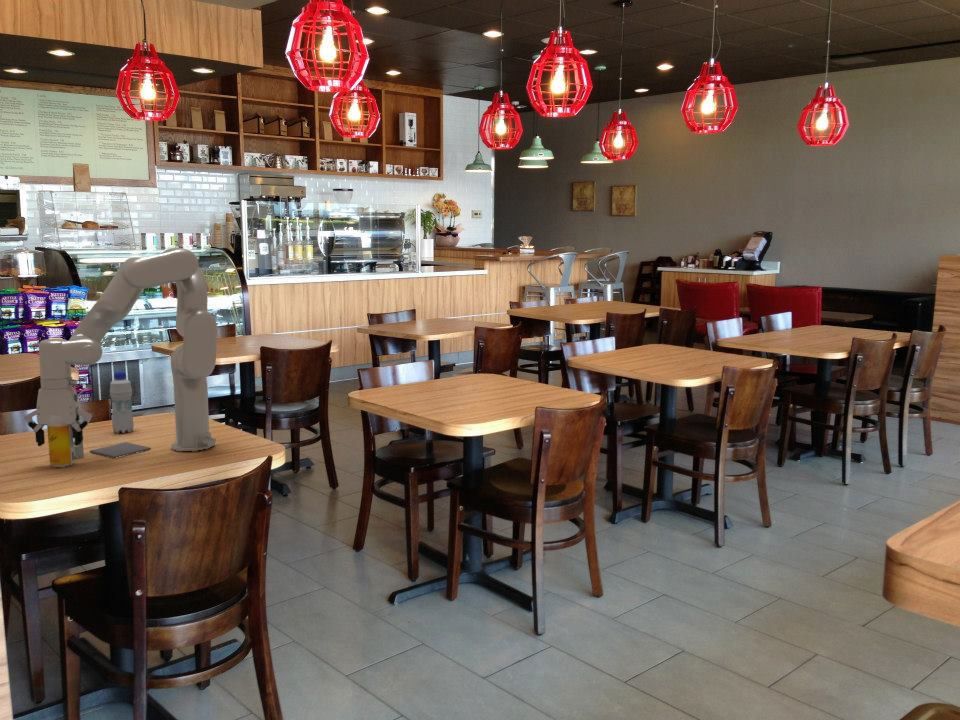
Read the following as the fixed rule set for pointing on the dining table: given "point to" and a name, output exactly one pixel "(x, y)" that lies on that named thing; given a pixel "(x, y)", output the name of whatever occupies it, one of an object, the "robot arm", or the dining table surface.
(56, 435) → the beer can
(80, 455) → the letter block
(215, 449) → the dining table surface
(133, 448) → the coaster
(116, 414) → the bottle
